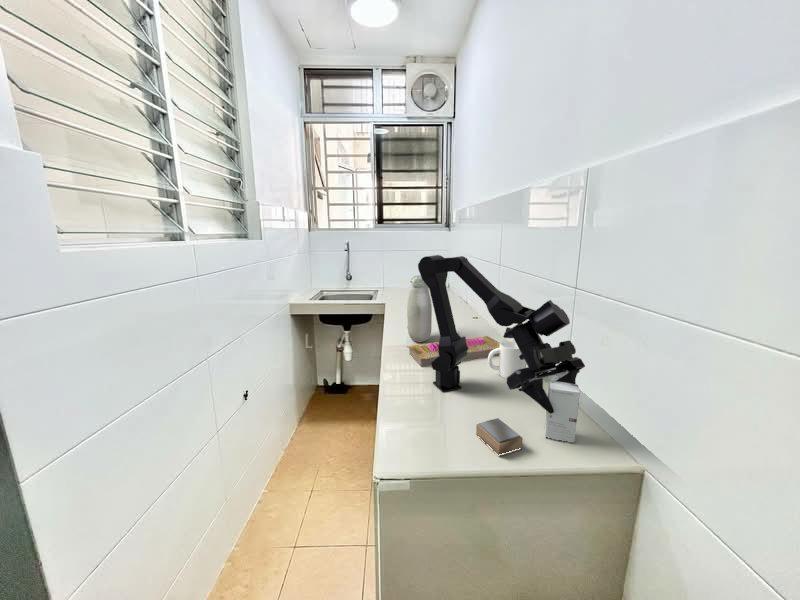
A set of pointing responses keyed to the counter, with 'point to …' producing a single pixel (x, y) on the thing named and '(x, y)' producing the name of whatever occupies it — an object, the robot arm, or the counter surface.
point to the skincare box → (562, 411)
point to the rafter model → (471, 355)
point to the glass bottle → (419, 310)
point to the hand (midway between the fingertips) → (565, 409)
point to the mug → (507, 358)
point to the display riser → (499, 436)
